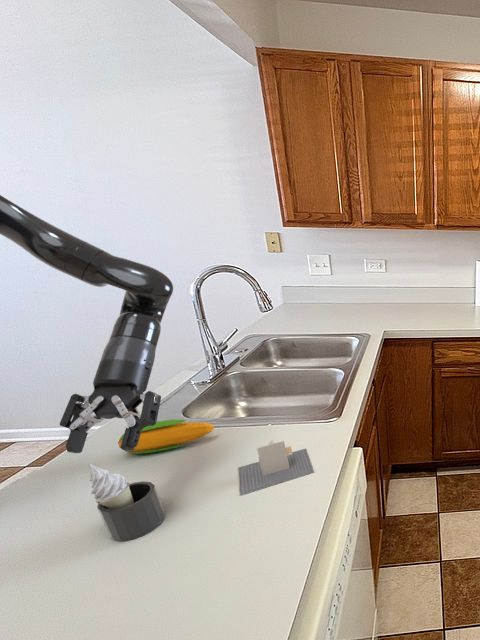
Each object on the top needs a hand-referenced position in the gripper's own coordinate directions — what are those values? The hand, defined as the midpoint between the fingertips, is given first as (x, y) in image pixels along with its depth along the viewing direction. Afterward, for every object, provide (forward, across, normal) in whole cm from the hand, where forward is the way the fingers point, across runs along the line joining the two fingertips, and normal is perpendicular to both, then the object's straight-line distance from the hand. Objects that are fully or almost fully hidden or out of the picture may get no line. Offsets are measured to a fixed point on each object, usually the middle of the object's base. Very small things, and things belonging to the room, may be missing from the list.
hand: (100, 451), depth 69 cm
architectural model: (+1, +20, +24) cm, 32 cm away
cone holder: (+12, 0, +14) cm, 18 cm away
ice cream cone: (+11, 0, +13) cm, 17 cm away
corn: (-8, -10, +33) cm, 36 cm away
